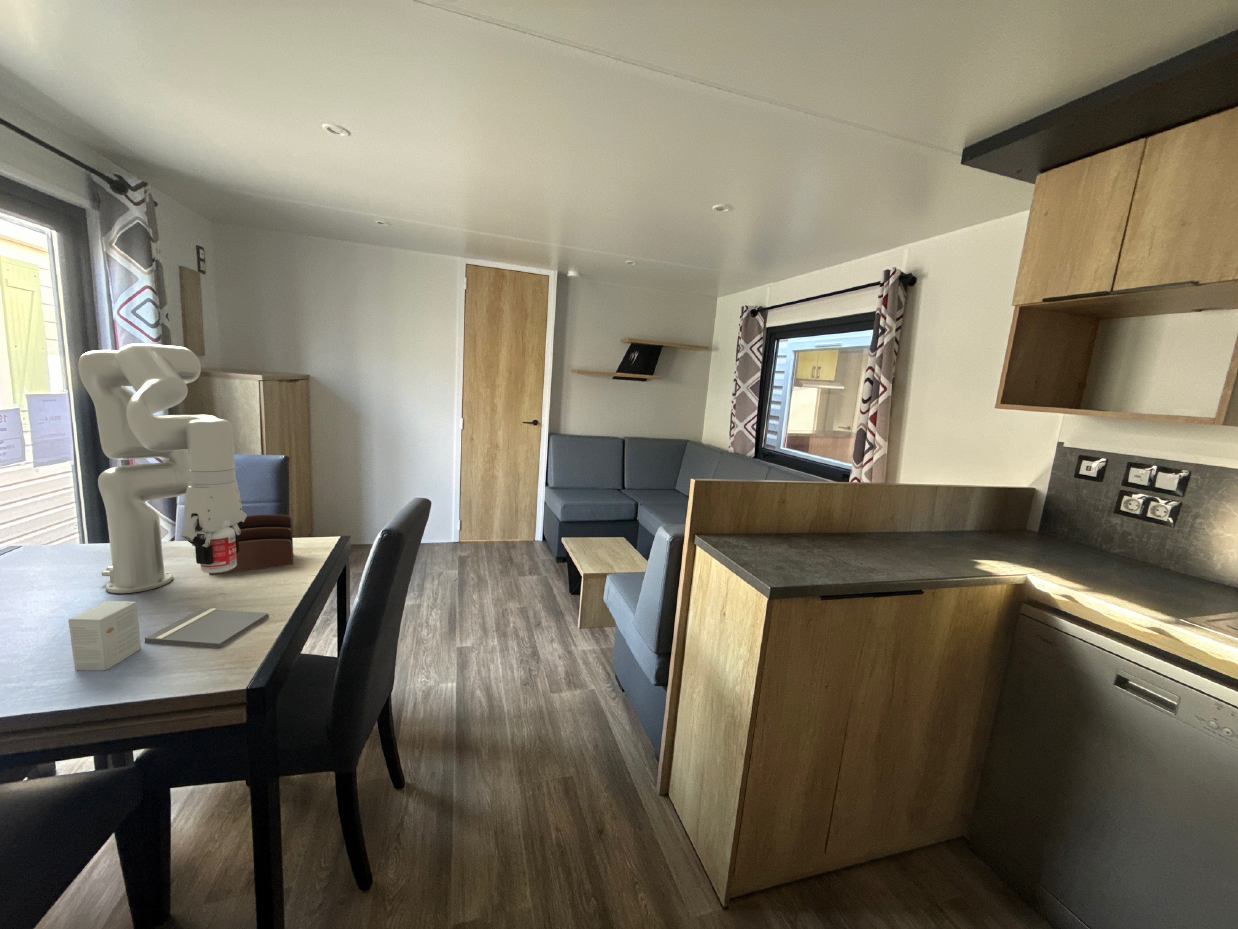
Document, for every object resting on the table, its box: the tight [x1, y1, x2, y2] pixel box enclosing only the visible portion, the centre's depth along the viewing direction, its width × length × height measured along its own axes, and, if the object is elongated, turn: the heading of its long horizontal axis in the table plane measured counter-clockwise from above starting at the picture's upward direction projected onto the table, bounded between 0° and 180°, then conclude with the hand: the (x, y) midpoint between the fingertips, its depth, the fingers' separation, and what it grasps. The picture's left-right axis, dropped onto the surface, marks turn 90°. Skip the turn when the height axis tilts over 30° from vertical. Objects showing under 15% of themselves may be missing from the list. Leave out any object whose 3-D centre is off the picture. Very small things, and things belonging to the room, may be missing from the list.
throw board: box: [143, 607, 270, 649], centre depth 110 cm, size 16×14×1 cm
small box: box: [67, 600, 142, 671], centre depth 96 cm, size 8×6×10 cm
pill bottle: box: [200, 520, 237, 574], centre depth 107 cm, size 6×6×11 cm
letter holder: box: [208, 514, 295, 576], centre depth 146 cm, size 10×20×14 cm, turn 124°
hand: (218, 557), depth 107 cm, fingers closed on pill bottle, 6 cm apart
